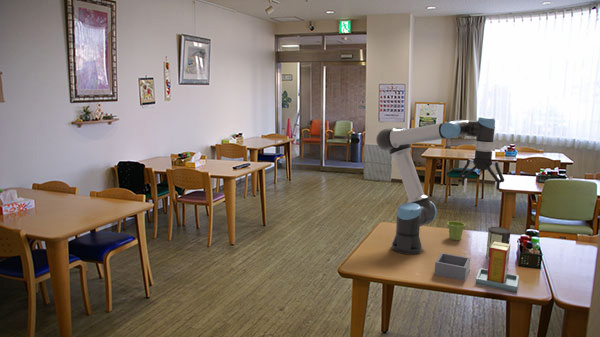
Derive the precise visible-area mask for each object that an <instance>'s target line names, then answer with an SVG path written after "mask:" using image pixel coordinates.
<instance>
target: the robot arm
mask: <svg viewBox="0 0 600 337" xmlns="http://www.w3.org/2000/svg"><path fill="white" fill-rule="evenodd" d="M495 130H496V119H495V118H494V117H488V116H487V117H486V116H481V117H478V118H477V120H467V119H454V120H453V121H452V120H451V121H446V122H441V123H436V124H428V125H423V126H417V127H411V128H404V127H393V128H385V129H382V130H380V131H379V132H378V134H377V135H376V139H375V140H376V145H377V146H378V147H379V149H381V150H383V151H387V152H389V155H390V156H391V157H393V158H394V161H395V163H396V166H397V169H398V171H399V175H400V177H401V181H402V184H403V186H404V189H405V193H406V195H407V198H408V199H407V202H403V203H401V204H399V205H398V207H397V210H396V225H395V226H396V227H395V228H396V229H395V236H394V238H393V240H392V241H391V242H392V243H391V249H392V250H393V251H394V252H397V253H399V254H404V255H417V254H420V253H422V250H423V246H422V242H421V238H420V230H421V229H420V228H421V227H422V226H425V225H429V224H430V223H431V222H433V221H434V220H435V219H436V217H437V215H438V209H437V206H436V205H435V203H434V202H432V201H430V198H429V196H428V195H426V194H425V192H424V189H423V187H422V183H421V181H420V178H419V176H418V172H417V170H416V167H415V164H414V161H413V157H412V154H411V150H412V147H411V144H416V143H417V144H418V143H424V142H426V143H427V142H431V141H439V140H446V139H454V138H460V137H474V138H476V140H475V149H476V150H475V151H474V159H471V158H468V159H467V160H466V164H465V166H464V167H463V168H462V170H461V172H460V173H459V175H458V178H461V185H462V186H463V193H464V194H466V192H467V185H468V178H467V177H468V176H469V175H470V174H472V173H473V172H474V171H475V170H476V169H477V170H479V171H480V170H481V171H487V172H489V174H490V175H491V177H492V178H493V179H494V180H495V182H494V189H493V190H494V191H493V197H494V198H495V197H496V196H497V191H498V190H499V189H500V185H501V183H504V182H505V178H504V176H503V173H502V171H501V168H500V166H499V164H500V163H499V161H493V160H492V158H493V148H494V139H495ZM472 163H473V165H474V166H473V167H472V168H471V169H470V170H469V171H468V172H466V171H467V169H468V168H469V165H472ZM492 165H493V167H495V170H496V172H497V175H498V176H497V175H496V174H495V172H494V170H493V169H492V168H491V166H492ZM465 172H466V173H465Z"/></svg>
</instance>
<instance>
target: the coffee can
mask: <svg viewBox="0 0 600 337" xmlns="http://www.w3.org/2000/svg"><path fill="white" fill-rule="evenodd" d="M510 240H511V230H510V229H508V228H505V227H501V226H490V227H488V229H487V240H486V241H487V243H486V250H485V251H486V252H485V257H487V258H488V259H489V254H490V247H491V245H492V244H493V242H494V241H496V242H501V243H506V244H510Z"/></svg>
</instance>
